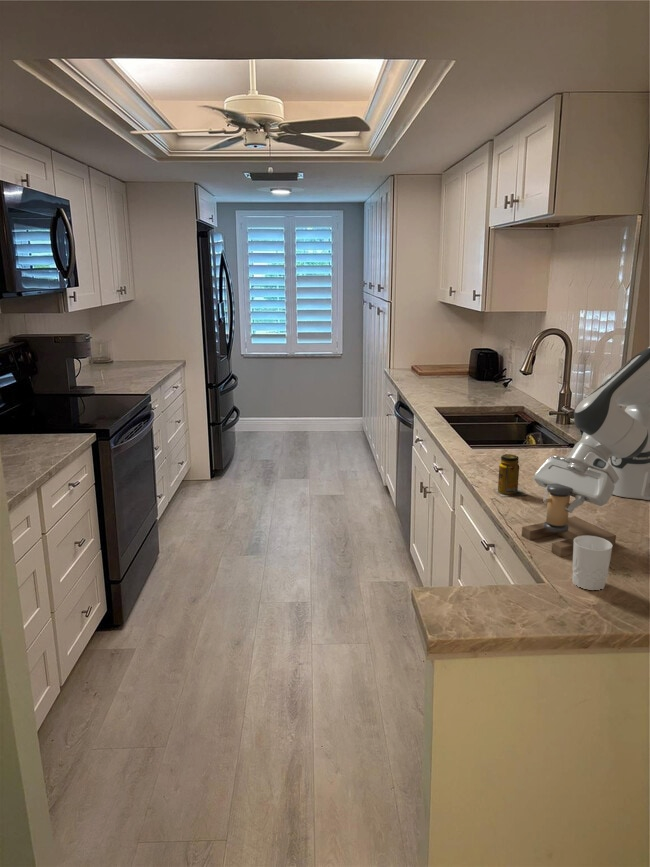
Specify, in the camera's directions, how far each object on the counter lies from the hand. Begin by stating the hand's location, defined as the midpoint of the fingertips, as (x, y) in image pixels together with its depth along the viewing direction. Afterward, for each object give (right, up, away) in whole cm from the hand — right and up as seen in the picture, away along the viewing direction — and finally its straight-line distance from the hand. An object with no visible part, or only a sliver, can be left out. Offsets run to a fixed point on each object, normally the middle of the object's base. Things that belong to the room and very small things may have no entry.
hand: (556, 507), depth 158 cm
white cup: (0, -15, -18) cm, 24 cm away
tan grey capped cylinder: (+1, -6, +2) cm, 6 cm away
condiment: (0, 0, +40) cm, 40 cm away
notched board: (+5, -9, +5) cm, 11 cm away
